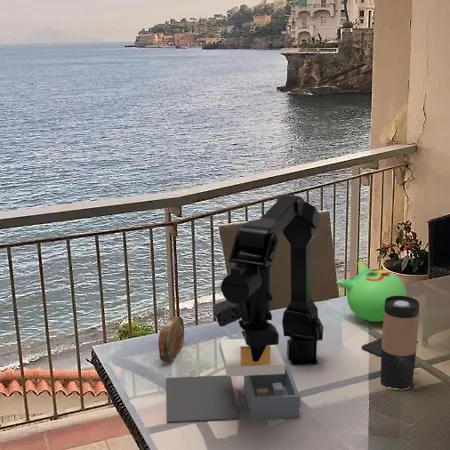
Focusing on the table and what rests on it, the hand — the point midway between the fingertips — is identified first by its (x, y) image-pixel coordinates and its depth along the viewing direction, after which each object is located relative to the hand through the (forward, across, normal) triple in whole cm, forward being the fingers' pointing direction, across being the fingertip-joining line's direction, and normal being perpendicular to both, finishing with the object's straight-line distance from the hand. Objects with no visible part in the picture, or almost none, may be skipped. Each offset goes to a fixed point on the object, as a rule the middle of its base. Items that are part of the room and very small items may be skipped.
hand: (255, 359), depth 142 cm
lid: (+3, -6, 0) cm, 7 cm away
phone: (+13, -31, +40) cm, 52 cm away
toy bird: (+13, -49, +41) cm, 66 cm away
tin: (+13, -32, -16) cm, 38 cm away
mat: (+13, -9, -10) cm, 19 cm away
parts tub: (+13, -6, +4) cm, 15 cm away
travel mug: (+13, -11, +35) cm, 39 cm away
